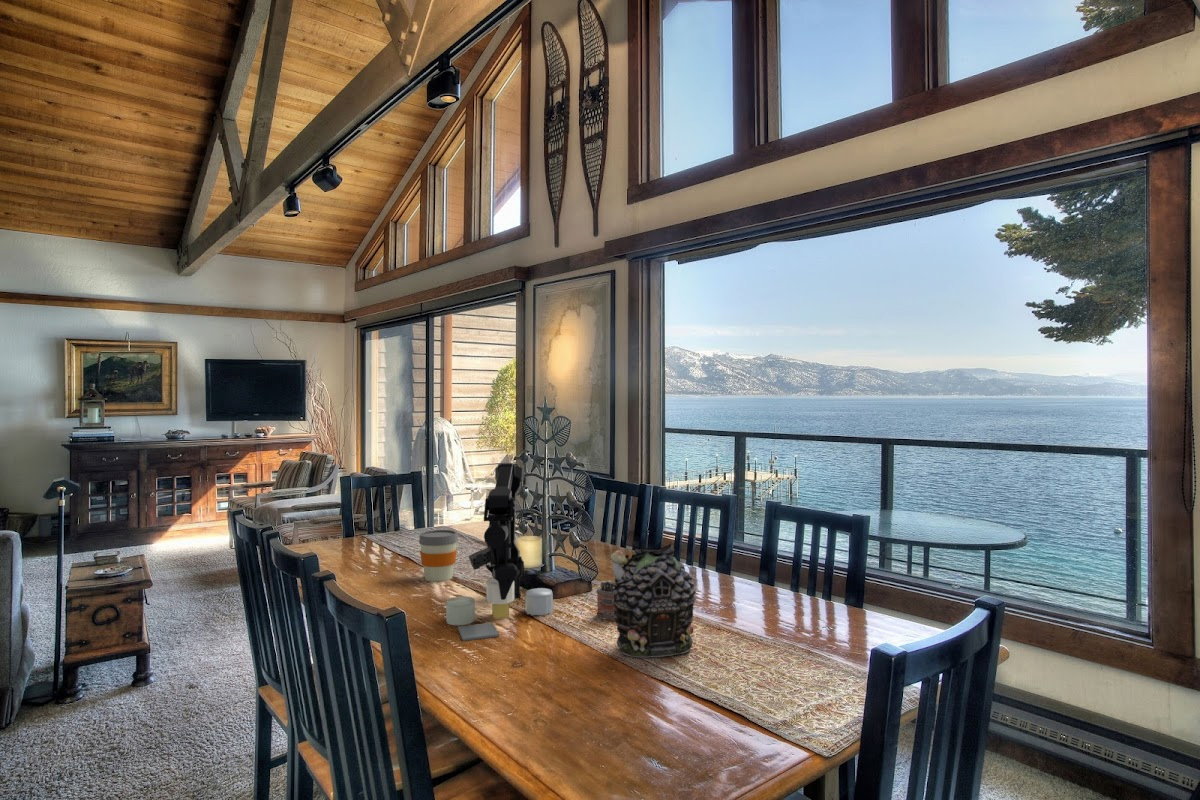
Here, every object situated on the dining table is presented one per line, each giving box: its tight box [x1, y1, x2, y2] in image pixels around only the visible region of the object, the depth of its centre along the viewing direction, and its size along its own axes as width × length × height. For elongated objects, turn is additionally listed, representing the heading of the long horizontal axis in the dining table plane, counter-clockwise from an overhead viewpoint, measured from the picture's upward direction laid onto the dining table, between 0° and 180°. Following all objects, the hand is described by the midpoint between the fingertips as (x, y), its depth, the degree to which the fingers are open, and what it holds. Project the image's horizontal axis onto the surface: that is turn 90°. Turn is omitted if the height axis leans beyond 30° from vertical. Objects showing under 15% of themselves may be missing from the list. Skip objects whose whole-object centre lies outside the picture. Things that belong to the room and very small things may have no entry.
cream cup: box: [485, 577, 515, 605], centre depth 183 cm, size 7×7×6 cm
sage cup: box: [445, 595, 476, 626], centre depth 180 cm, size 7×7×6 cm
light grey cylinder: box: [525, 587, 554, 616], centre depth 187 cm, size 7×7×6 cm
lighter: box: [596, 579, 615, 621], centre depth 181 cm, size 8×3×10 cm, turn 62°
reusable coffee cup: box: [418, 529, 458, 583], centre depth 223 cm, size 12×13×15 cm
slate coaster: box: [457, 622, 500, 642], centre depth 170 cm, size 9×9×1 cm
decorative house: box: [610, 544, 697, 659], centre depth 158 cm, size 21×15×25 cm
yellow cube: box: [491, 603, 510, 620], centre depth 183 cm, size 4×4×4 cm
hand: (500, 595), depth 183 cm, fingers closed on cream cup, 7 cm apart
